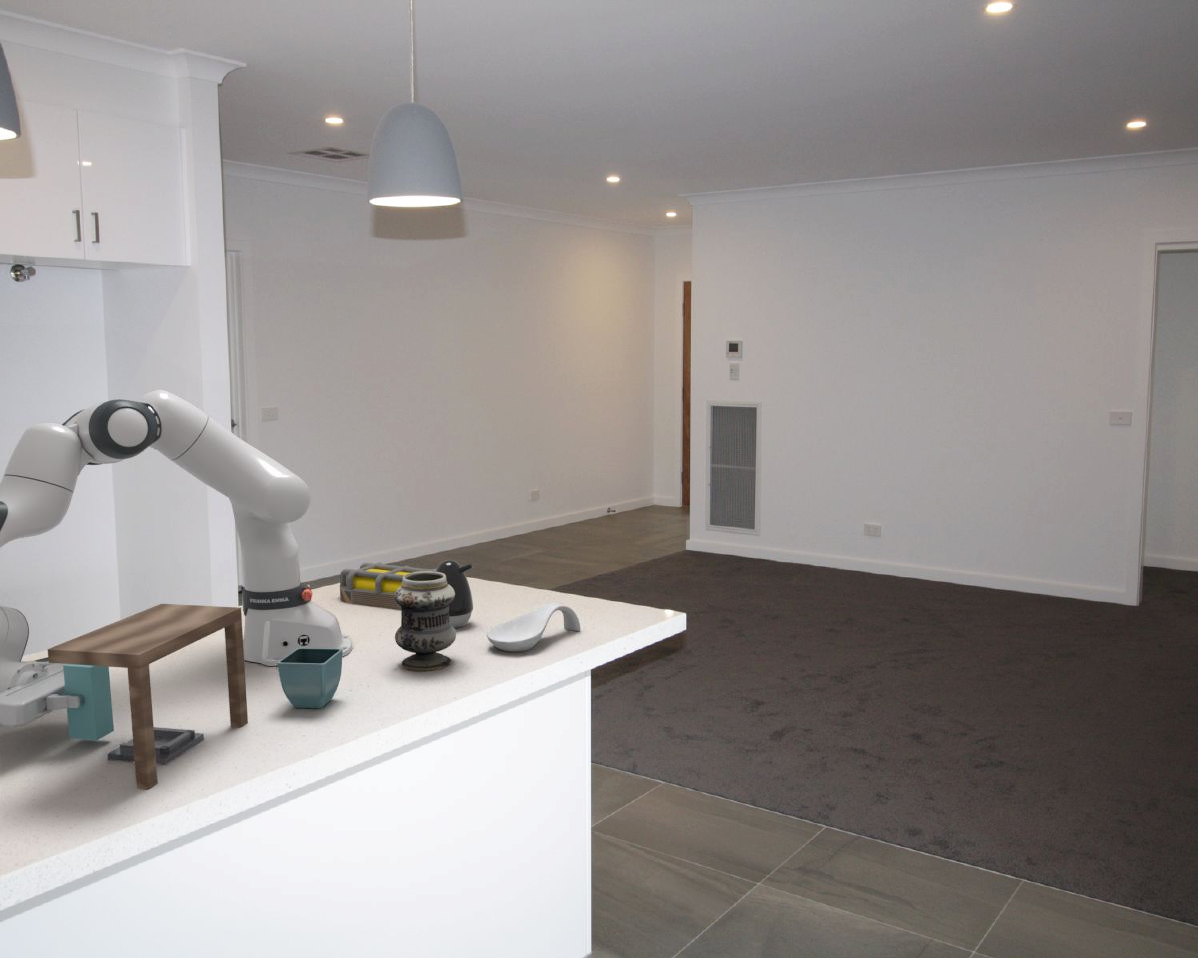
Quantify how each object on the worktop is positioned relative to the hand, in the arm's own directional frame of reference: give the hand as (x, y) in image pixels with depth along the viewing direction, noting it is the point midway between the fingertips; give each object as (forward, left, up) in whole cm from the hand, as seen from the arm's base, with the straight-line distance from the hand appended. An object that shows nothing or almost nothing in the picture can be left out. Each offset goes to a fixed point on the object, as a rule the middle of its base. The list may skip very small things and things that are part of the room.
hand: (93, 695), depth 160 cm
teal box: (+1, 0, -7) cm, 7 cm away
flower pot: (-33, -10, -8) cm, 35 cm away
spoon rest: (-77, -38, -9) cm, 87 cm away
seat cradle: (-10, +5, -8) cm, 14 cm away
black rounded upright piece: (-61, -54, -8) cm, 82 cm away
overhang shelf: (-10, +5, -8) cm, 14 cm away
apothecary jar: (-54, -28, -8) cm, 61 cm away
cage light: (-49, -81, -9) cm, 95 cm away
